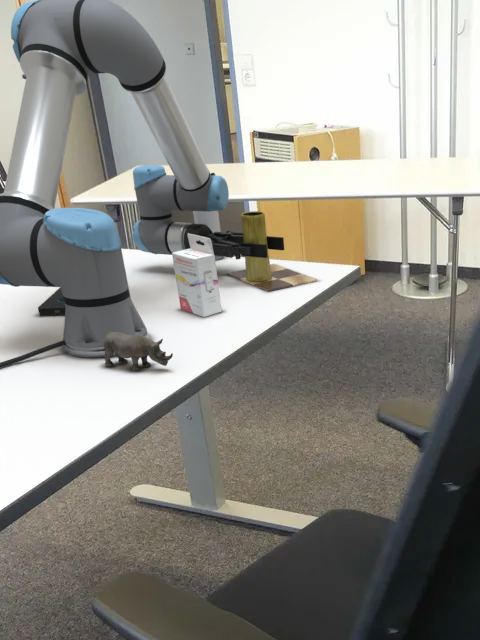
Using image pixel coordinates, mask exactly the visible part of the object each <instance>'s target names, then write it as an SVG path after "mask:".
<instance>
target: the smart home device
mask: <svg viewBox="0 0 480 640" xmlns="http://www.w3.org/2000/svg"><path fill="white" fill-rule="evenodd" d="M65 309H66V308H65V302H64V298H63V294H62V291H61V287H58V289H57V290H56V291H55V292H53V293H52V294H51V295H50V296H49V297H48V298H47V299H46V300H44V301H43V302H42V303H41V304H40V305H39V306H38V307H37V310H38V311H37V312H38V315H39V317H48V316H51V317H52V316H53V317H54V316H65Z"/></svg>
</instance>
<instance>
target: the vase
mask: <svg viewBox="0 0 480 640" xmlns="http://www.w3.org/2000/svg"><path fill="white" fill-rule="evenodd" d="M240 218H241V219H240V220H241V228H242V232H243V240H244V243H254V244H265V245H267V236H268V235H267V225H266V215H265V212H264V211H259V210H251V211H245V212H242V213H241V214H240ZM267 255H268V257H267V258H261V257H250V256H244V263H245V270H246V279H247V280H248V281H252V282H262V281H267V280H270V279H271V278H272V274H271V268H270V264H271V263H270V262H271V261H270V255H269V249H268V245H267Z"/></svg>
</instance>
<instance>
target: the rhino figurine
mask: <svg viewBox="0 0 480 640" xmlns="http://www.w3.org/2000/svg"><path fill="white" fill-rule="evenodd" d="M163 340H164V338H161V339H160V340H158V341H155V340H152V339H150V338H149V337H148V338H147V337H145V336H143V335H139V334H137V335H133V336H129V335H125V334H122V333H119V332H109V333H108V334H107V335H106V337H105V340H104V350H105V354H104V357H103V358H104V367H113V366H114V362H113V361H112V360H111V358H112V356H111V355H113V354H114V352H115V355H114V356H116V357H117V361H118V363H120V364H127V363H128V362H129V361H128V359H131V362H132V364H131V369H132V371H140V369H141V367H140V366H139V361H140V359H141V365H142V367H146V368H147V367H151V366H152V363H151V362H149V361H148V357H149V359H150V360H151V361H152V362H155V363H157V364H159V365H161V366H164V367H167V366H168V363H169V361H170V360H171V359H172V358H173V355H174V353H173V352H171V353H170V354H169V355H166V353H167V352H166V351H164V350H162V349H161V346H160V345H161V344H162V343H163Z"/></svg>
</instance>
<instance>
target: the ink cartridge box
mask: <svg viewBox="0 0 480 640" xmlns="http://www.w3.org/2000/svg"><path fill="white" fill-rule="evenodd" d="M187 236H188V240H189V244H190V248H189V249H185V250H181V251H177V252H173V253H172V255H171V257H172V264H173V268H174V275H175V281H176V288H177V294H178V300H179V306H180V310H181V311H185V312H188V313H190V314H194V315H196V316H200V317H203V318H206V317H209V316H212V315H216V314H218V313H222V311H223V309H222V301H221V293H220V285H219V279H218V278H219V277H218V271H217V263H216V260H215V255H214V252H213V247H212V242H211V239H210V238H206V237H202V236H198V235H193V234H189V233H188V234H187ZM199 240H200V241H201V242H203V243H204V245H200V244H197V243H196V241H199Z"/></svg>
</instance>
